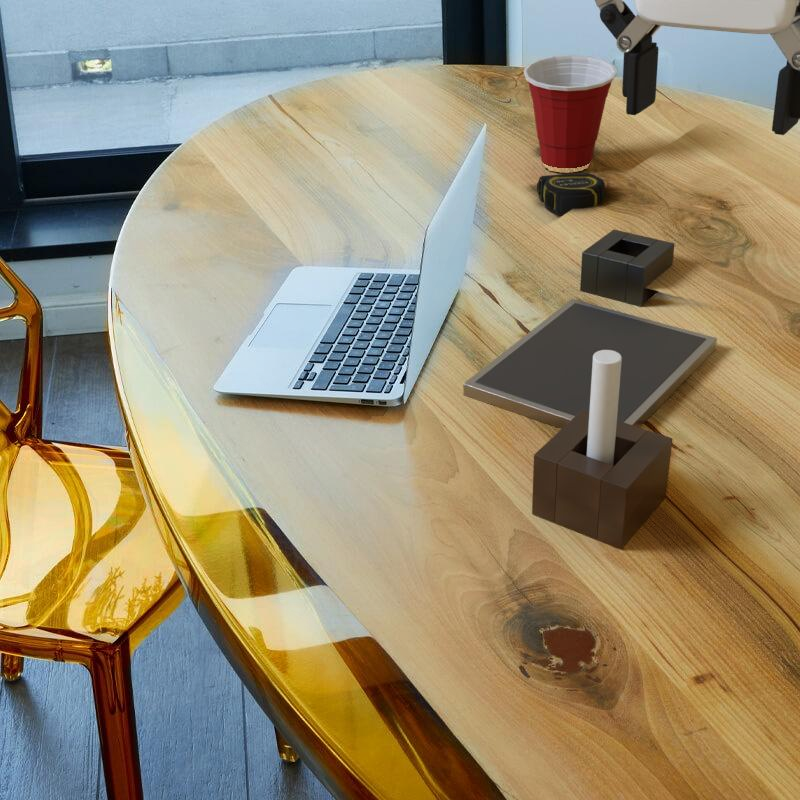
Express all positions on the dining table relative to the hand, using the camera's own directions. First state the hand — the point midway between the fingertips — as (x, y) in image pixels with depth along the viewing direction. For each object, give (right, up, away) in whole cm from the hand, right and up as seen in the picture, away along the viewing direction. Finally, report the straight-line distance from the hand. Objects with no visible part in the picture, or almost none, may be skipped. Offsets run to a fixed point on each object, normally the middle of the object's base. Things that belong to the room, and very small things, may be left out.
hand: (710, 118), depth 69 cm
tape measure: (-1, +3, +51) cm, 51 cm away
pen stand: (-6, -25, +5) cm, 27 cm away
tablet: (-4, -16, +21) cm, 26 cm away
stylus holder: (+2, -7, +34) cm, 35 cm away
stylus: (-6, -26, +5) cm, 27 cm away
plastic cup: (0, +10, +62) cm, 63 cm away
